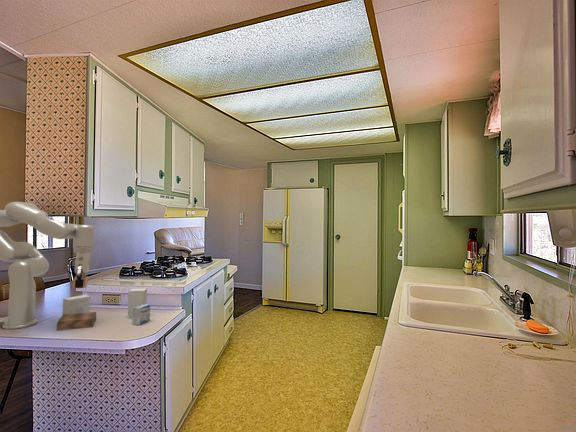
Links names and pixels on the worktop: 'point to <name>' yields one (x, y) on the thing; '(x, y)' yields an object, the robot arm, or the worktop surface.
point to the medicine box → (141, 314)
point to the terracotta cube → (83, 281)
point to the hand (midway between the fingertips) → (79, 286)
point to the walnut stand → (76, 321)
